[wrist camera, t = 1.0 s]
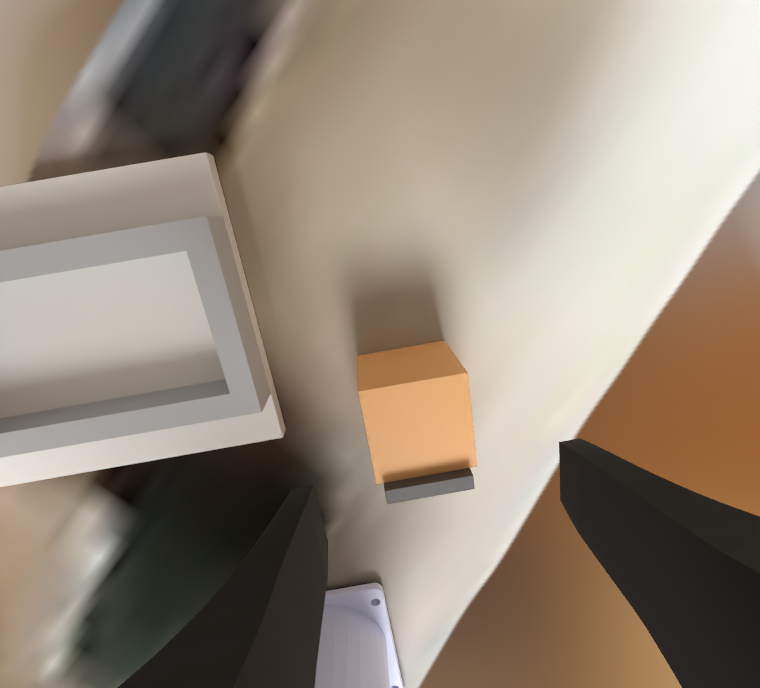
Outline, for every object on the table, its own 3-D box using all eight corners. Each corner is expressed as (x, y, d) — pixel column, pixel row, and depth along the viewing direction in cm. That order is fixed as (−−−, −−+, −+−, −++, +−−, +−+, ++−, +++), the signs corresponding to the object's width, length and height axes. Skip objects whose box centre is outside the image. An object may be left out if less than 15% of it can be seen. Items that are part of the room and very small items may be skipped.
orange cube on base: (444, 340, 18) (471, 377, 14) (454, 428, 20) (482, 487, 15) (357, 355, 18) (358, 397, 14) (374, 442, 20) (379, 505, 15)
